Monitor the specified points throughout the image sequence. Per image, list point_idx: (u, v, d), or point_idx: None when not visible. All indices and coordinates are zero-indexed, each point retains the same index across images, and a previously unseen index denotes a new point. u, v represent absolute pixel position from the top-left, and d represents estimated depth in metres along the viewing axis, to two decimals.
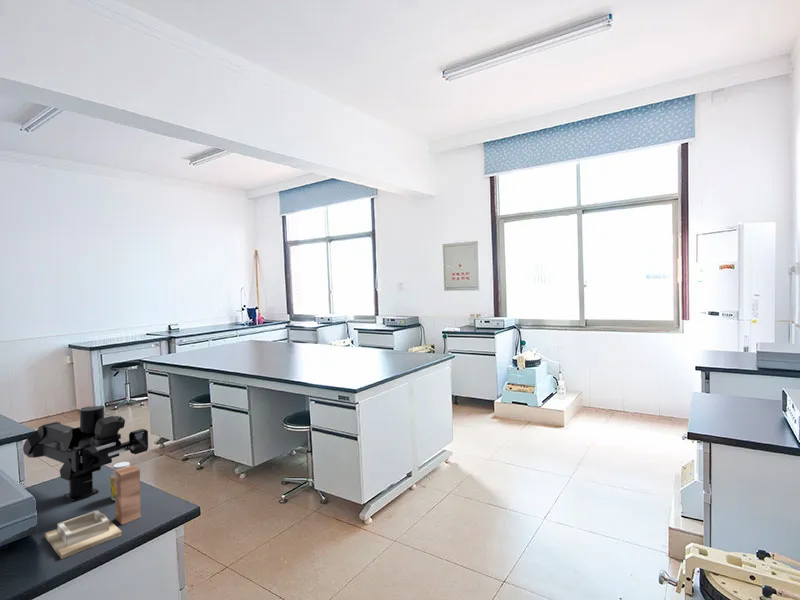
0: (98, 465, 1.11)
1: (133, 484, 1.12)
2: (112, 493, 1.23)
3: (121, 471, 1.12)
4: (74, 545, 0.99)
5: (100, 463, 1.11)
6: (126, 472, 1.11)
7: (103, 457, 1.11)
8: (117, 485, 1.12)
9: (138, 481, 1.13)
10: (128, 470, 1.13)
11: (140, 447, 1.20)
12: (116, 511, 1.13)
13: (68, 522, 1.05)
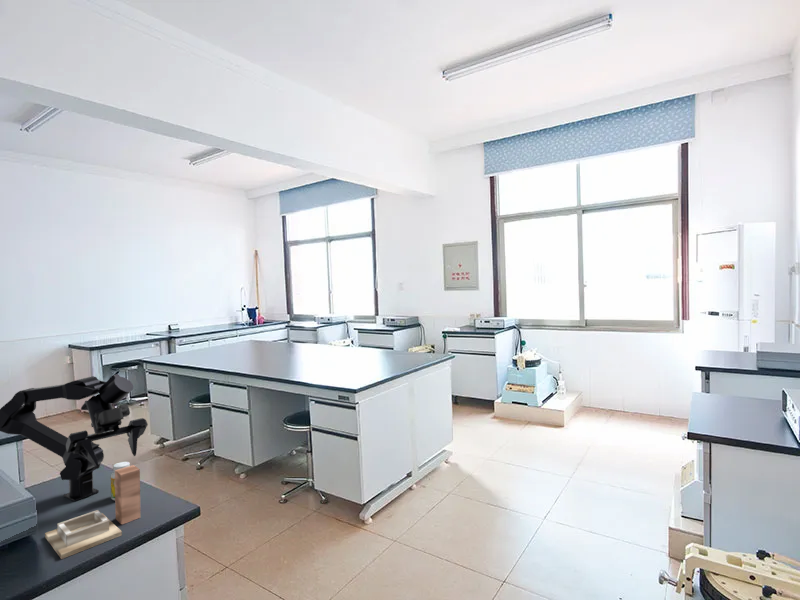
0: (87, 458, 1.16)
1: (133, 484, 1.12)
2: (112, 493, 1.23)
3: (121, 471, 1.12)
4: (74, 545, 0.99)
5: (88, 459, 1.15)
6: (126, 472, 1.11)
7: (92, 458, 1.14)
8: (117, 485, 1.12)
9: (138, 481, 1.13)
10: (128, 470, 1.13)
11: (132, 446, 1.23)
12: (116, 511, 1.13)
13: (68, 522, 1.05)
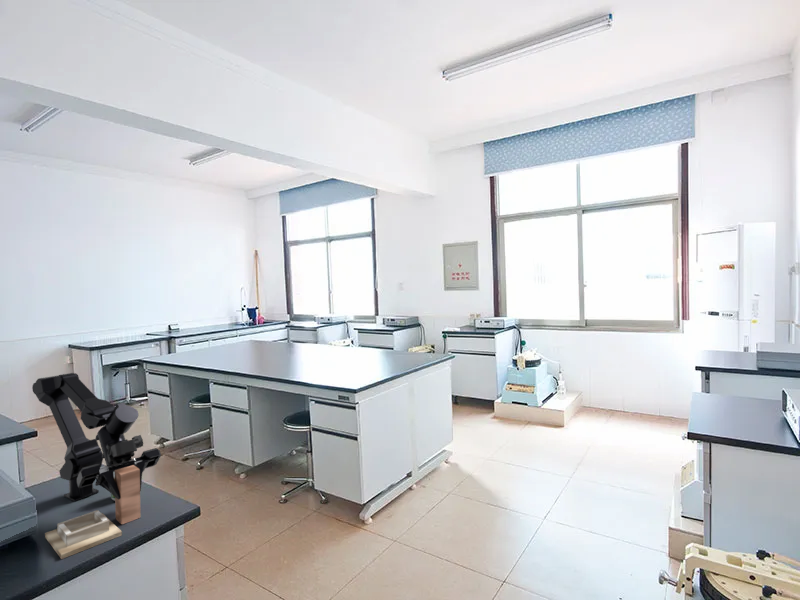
0: (108, 490, 1.12)
1: (133, 484, 1.12)
2: None
3: (121, 471, 1.12)
4: (74, 545, 0.99)
5: (110, 491, 1.11)
6: (126, 472, 1.11)
7: (114, 490, 1.11)
8: (117, 485, 1.12)
9: (138, 481, 1.13)
10: (128, 470, 1.13)
11: None
12: (116, 511, 1.13)
13: (68, 522, 1.05)
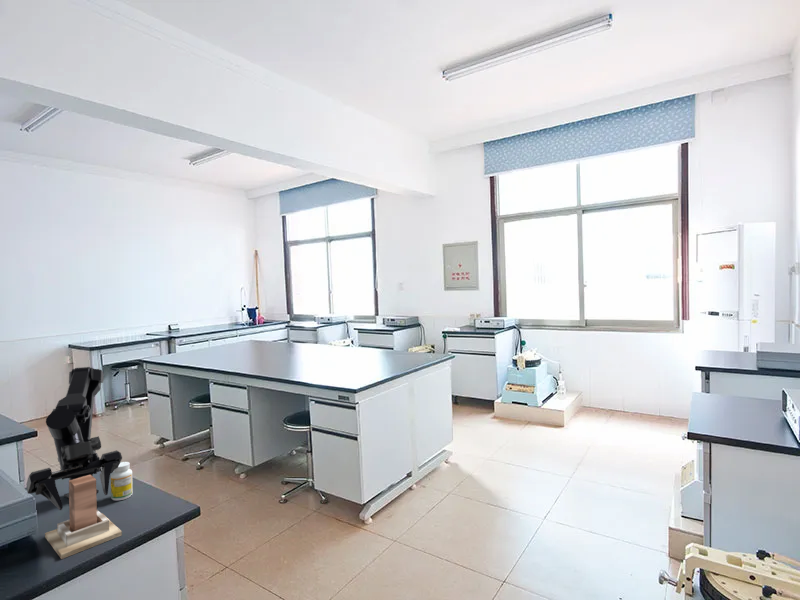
0: (50, 500, 1.02)
1: (88, 495, 1.04)
2: (112, 493, 1.23)
3: (76, 481, 1.04)
4: (74, 545, 0.99)
5: (52, 501, 1.01)
6: (81, 483, 1.03)
7: (55, 500, 1.00)
8: (71, 497, 1.04)
9: (94, 492, 1.05)
10: (83, 480, 1.05)
11: (103, 483, 1.09)
12: (70, 524, 1.04)
13: (68, 522, 1.05)
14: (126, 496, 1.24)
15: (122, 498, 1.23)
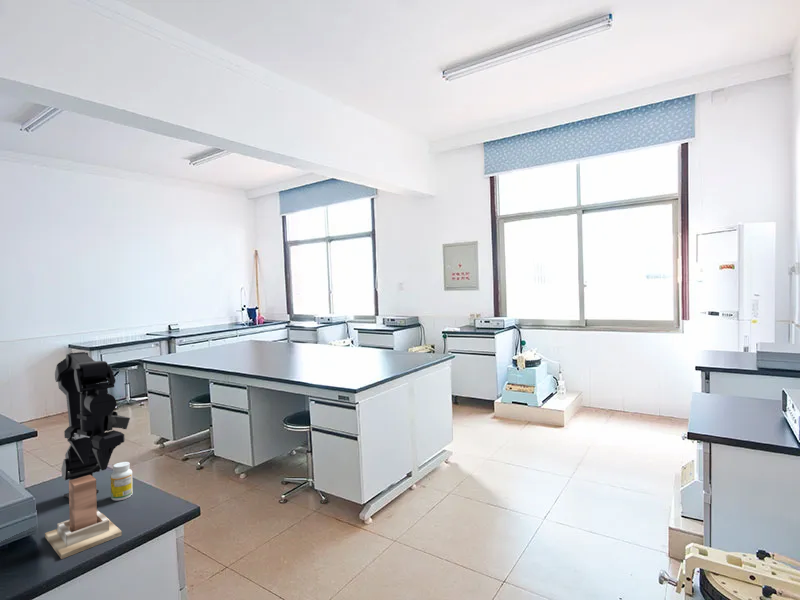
0: (100, 459, 1.11)
1: (88, 495, 1.04)
2: (112, 493, 1.23)
3: (76, 481, 1.04)
4: (74, 545, 0.99)
5: (102, 460, 1.12)
6: (81, 483, 1.03)
7: (108, 461, 1.13)
8: (71, 497, 1.04)
9: (94, 492, 1.05)
10: (83, 480, 1.05)
11: (85, 452, 1.17)
12: (70, 524, 1.04)
13: (68, 522, 1.05)
14: (126, 496, 1.24)
15: (122, 498, 1.23)
